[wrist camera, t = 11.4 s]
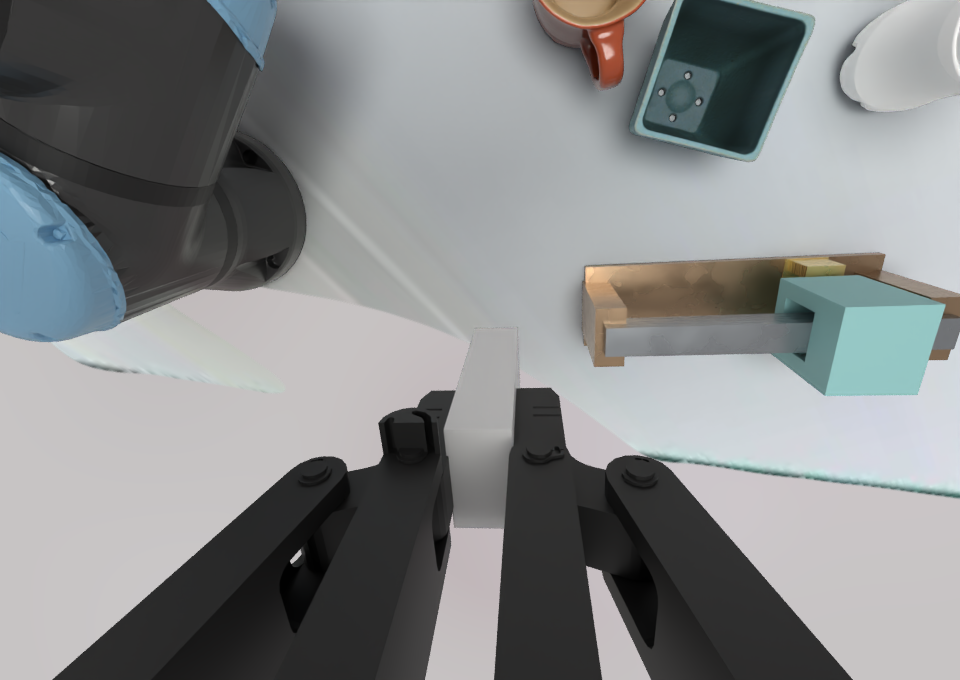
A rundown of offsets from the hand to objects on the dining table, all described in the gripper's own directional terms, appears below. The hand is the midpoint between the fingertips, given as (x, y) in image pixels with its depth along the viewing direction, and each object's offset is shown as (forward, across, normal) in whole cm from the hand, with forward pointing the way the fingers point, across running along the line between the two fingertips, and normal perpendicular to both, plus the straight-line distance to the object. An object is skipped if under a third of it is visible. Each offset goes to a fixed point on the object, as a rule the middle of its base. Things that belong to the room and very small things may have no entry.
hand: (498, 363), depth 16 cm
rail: (+29, +20, -7) cm, 36 cm away
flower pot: (+30, +14, +11) cm, 35 cm away
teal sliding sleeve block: (+21, +25, -7) cm, 33 cm away
